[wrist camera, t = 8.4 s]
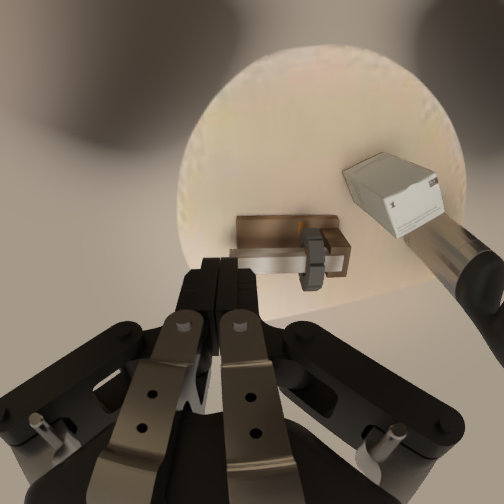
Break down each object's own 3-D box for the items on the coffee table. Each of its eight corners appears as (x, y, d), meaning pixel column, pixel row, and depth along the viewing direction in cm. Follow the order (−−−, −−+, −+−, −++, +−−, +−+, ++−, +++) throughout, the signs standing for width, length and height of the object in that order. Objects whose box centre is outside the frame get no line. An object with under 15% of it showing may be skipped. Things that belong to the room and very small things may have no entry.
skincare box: (353, 202, 45) (394, 244, 32) (340, 169, 43) (381, 201, 29) (395, 181, 43) (447, 215, 30) (384, 148, 41) (438, 172, 28)
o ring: (313, 220, 44) (328, 247, 36) (308, 269, 48) (320, 301, 40) (300, 220, 43) (312, 247, 36) (296, 269, 48) (306, 302, 40)
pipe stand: (336, 215, 46) (353, 238, 39) (331, 258, 50) (345, 286, 43) (230, 216, 46) (228, 240, 38) (232, 261, 50) (230, 290, 42)
